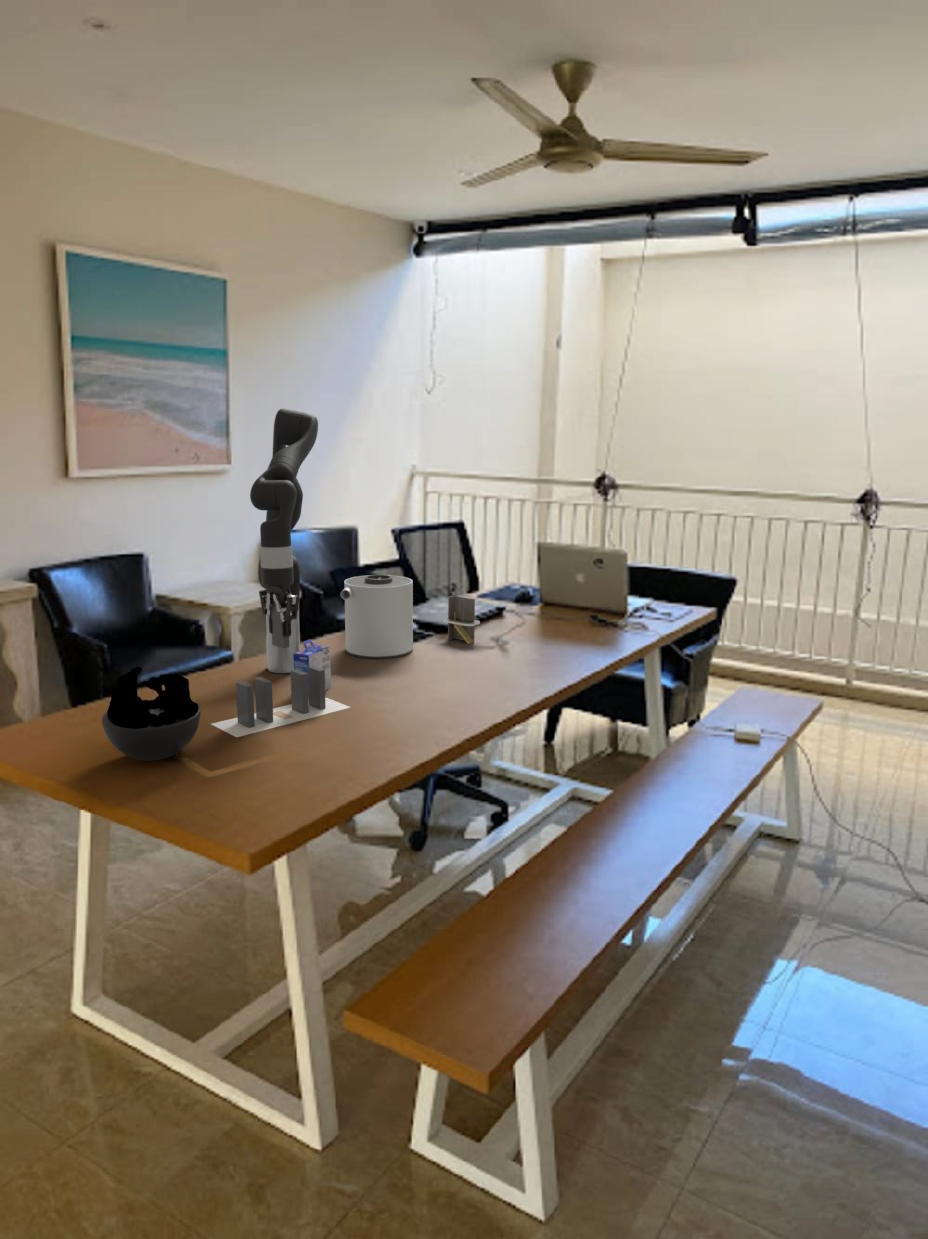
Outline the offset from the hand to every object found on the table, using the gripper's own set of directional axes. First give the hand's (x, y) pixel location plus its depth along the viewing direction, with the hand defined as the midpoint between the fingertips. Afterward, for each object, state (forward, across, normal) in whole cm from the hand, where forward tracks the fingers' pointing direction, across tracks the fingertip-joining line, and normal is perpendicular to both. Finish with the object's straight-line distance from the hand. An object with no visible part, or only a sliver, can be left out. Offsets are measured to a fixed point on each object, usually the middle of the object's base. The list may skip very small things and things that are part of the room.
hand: (280, 634), depth 220 cm
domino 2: (+20, -2, +7) cm, 21 cm away
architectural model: (+20, +25, -84) cm, 90 cm away
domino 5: (+19, -2, -8) cm, 21 cm away
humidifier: (+19, +33, -55) cm, 67 cm away
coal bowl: (+21, -5, +36) cm, 42 cm away
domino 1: (+20, -2, +12) cm, 23 cm away
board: (+21, -2, +2) cm, 21 cm away
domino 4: (+19, -2, -3) cm, 20 cm away
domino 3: (+3, 0, 0) cm, 3 cm away
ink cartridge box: (+20, +10, -15) cm, 27 cm away
